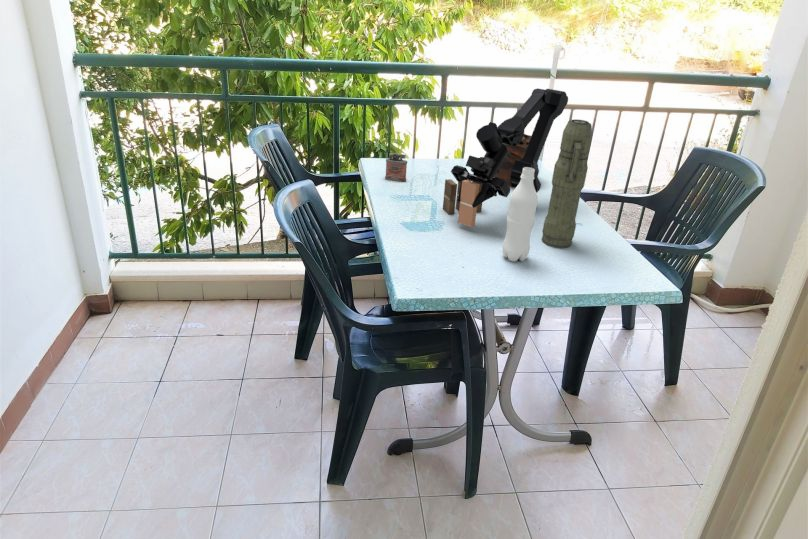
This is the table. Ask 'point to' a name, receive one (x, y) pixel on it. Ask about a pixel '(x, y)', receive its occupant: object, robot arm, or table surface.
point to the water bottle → (521, 217)
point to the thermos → (567, 184)
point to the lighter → (396, 168)
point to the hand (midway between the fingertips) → (465, 204)
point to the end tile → (468, 203)
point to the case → (513, 158)
